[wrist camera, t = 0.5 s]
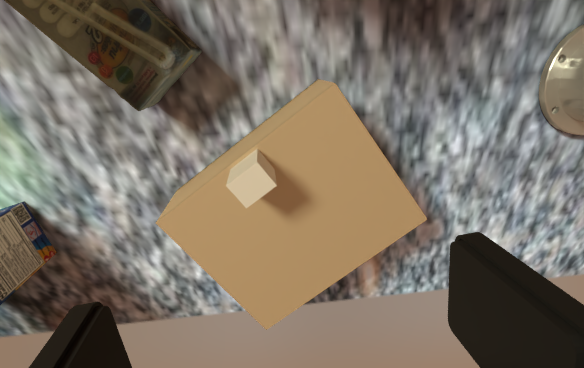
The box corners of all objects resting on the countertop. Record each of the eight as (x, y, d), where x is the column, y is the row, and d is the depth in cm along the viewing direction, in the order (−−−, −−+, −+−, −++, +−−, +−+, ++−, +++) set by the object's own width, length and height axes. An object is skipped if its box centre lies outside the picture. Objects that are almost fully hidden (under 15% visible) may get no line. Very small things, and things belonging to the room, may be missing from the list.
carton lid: (333, 82, 29) (348, 86, 24) (424, 216, 34) (451, 241, 29) (157, 220, 32) (139, 247, 27) (266, 325, 37) (267, 364, 32)
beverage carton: (156, 108, 36) (135, 117, 30) (-19, -43, 31) (-90, -70, 25) (205, 51, 35) (194, 49, 29) (31, -118, 30) (-30, -166, 23)
